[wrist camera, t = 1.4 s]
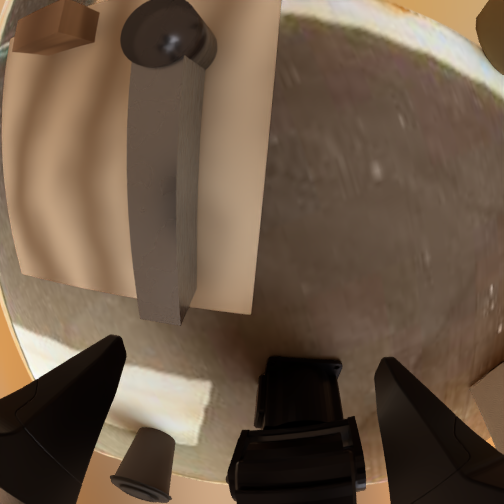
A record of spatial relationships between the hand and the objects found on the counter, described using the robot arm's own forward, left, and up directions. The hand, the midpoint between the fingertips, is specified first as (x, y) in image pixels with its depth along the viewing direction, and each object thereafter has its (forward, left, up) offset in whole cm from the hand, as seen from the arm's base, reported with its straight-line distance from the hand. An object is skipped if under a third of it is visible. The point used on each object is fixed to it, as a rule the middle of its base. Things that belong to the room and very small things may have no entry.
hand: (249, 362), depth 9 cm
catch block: (+14, -14, -10) cm, 23 cm away
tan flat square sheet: (+11, -5, -11) cm, 17 cm away
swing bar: (+5, -5, -10) cm, 12 cm away
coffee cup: (+11, +31, -11) cm, 35 cm away
